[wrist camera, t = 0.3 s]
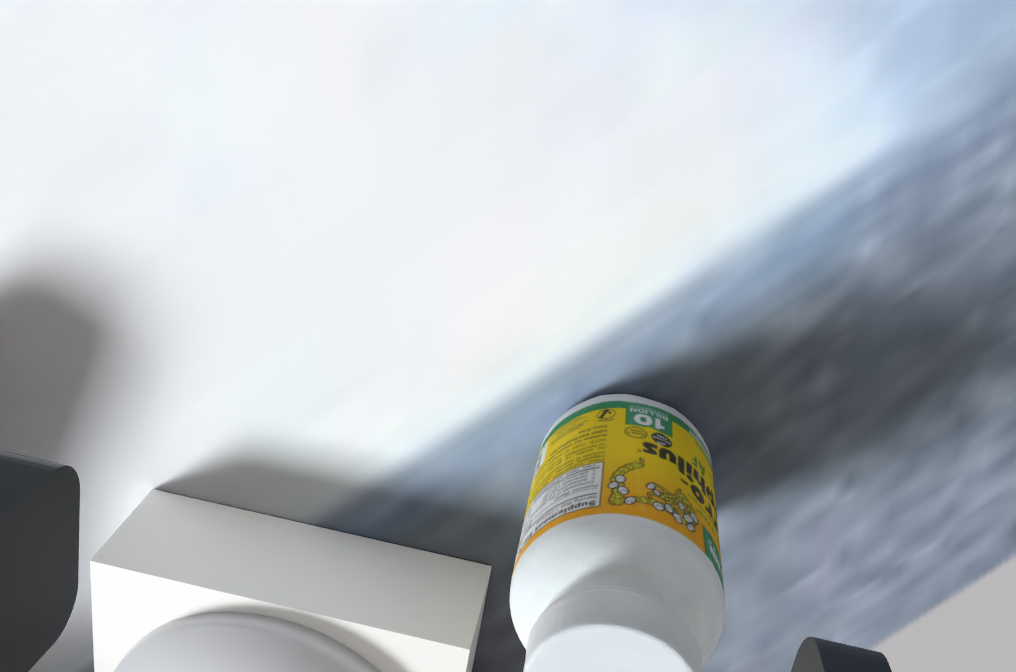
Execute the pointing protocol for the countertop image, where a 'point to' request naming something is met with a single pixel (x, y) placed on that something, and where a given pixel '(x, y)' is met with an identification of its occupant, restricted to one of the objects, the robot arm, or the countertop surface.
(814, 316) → the countertop surface
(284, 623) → the kitchen scale
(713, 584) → the supplement bottle
